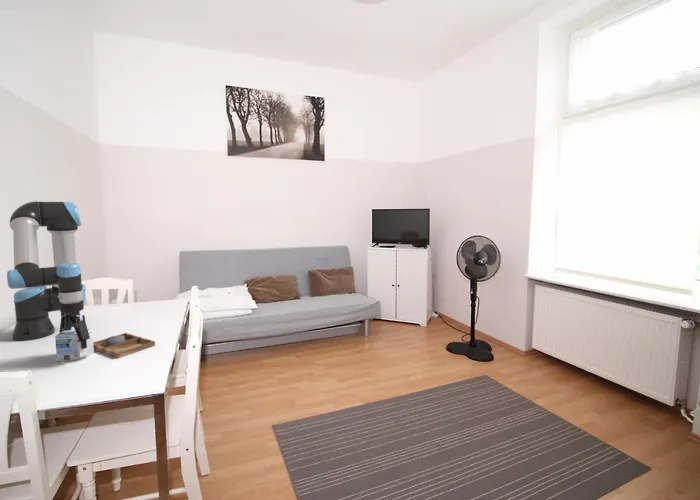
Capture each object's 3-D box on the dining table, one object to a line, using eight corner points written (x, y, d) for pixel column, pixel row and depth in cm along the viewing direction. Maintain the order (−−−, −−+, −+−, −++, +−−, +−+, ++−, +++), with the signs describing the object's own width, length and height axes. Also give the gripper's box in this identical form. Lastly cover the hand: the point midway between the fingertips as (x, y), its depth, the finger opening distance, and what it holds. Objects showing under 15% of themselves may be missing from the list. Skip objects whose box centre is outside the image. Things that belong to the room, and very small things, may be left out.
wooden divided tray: (89, 348, 152) (88, 343, 152) (126, 337, 166) (126, 332, 165) (118, 359, 141) (117, 353, 141) (155, 346, 155) (154, 341, 155)
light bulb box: (56, 361, 139) (54, 335, 137) (65, 355, 145) (62, 330, 144) (87, 358, 141) (85, 333, 140) (94, 352, 148) (92, 328, 147)
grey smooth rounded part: (102, 345, 155) (102, 339, 154) (119, 340, 161) (119, 334, 160) (111, 348, 151) (111, 342, 151) (128, 343, 157) (127, 337, 157)
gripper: (46, 299, 143) (50, 350, 145) (75, 307, 132) (80, 362, 134) (67, 296, 150) (71, 344, 152) (97, 303, 138) (101, 355, 141)
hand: (75, 352), depth 143 cm, fingers closed on light bulb box, 12 cm apart
